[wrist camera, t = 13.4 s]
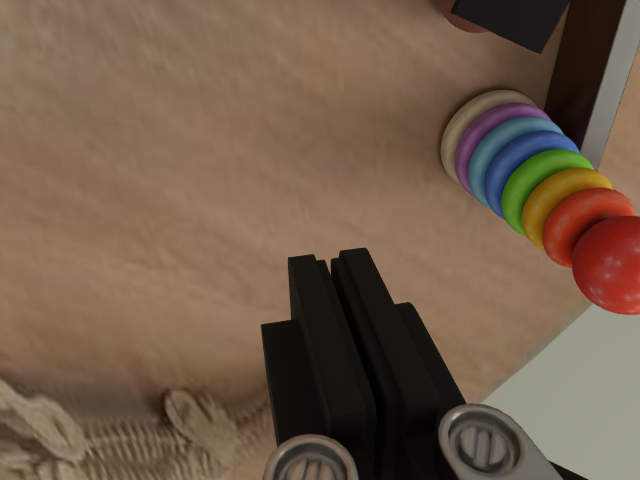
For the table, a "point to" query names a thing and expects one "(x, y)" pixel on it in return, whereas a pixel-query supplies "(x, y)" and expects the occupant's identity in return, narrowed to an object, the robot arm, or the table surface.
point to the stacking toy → (547, 193)
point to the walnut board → (593, 71)
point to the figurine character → (508, 18)
